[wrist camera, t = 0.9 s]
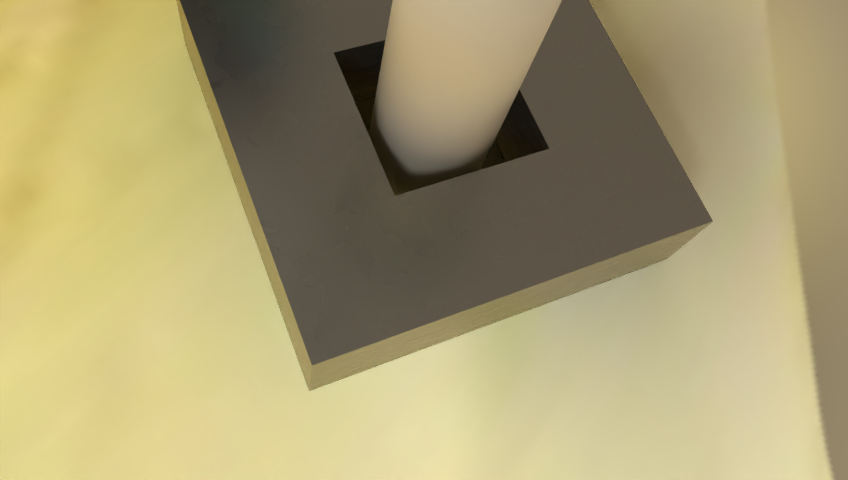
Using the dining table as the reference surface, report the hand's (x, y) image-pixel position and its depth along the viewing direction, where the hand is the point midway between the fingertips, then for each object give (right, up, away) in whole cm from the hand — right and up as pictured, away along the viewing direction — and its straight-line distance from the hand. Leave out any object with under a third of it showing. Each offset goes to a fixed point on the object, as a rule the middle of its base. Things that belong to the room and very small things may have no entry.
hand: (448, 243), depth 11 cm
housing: (0, +4, +23) cm, 23 cm away
